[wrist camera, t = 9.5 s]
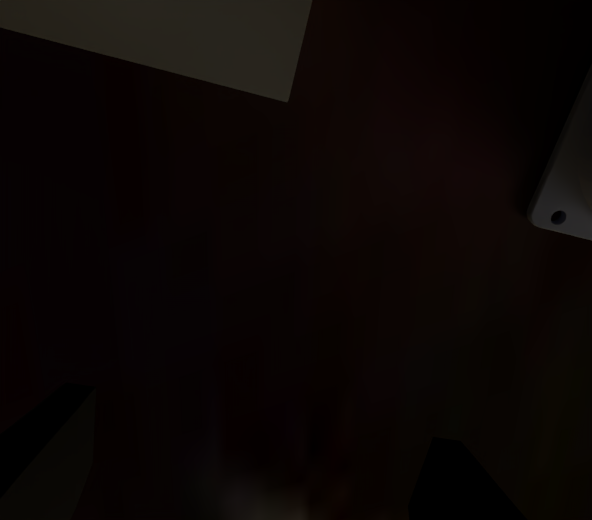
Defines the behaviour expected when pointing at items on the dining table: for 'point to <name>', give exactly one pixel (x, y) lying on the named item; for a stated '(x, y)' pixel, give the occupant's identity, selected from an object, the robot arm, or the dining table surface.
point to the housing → (179, 35)
